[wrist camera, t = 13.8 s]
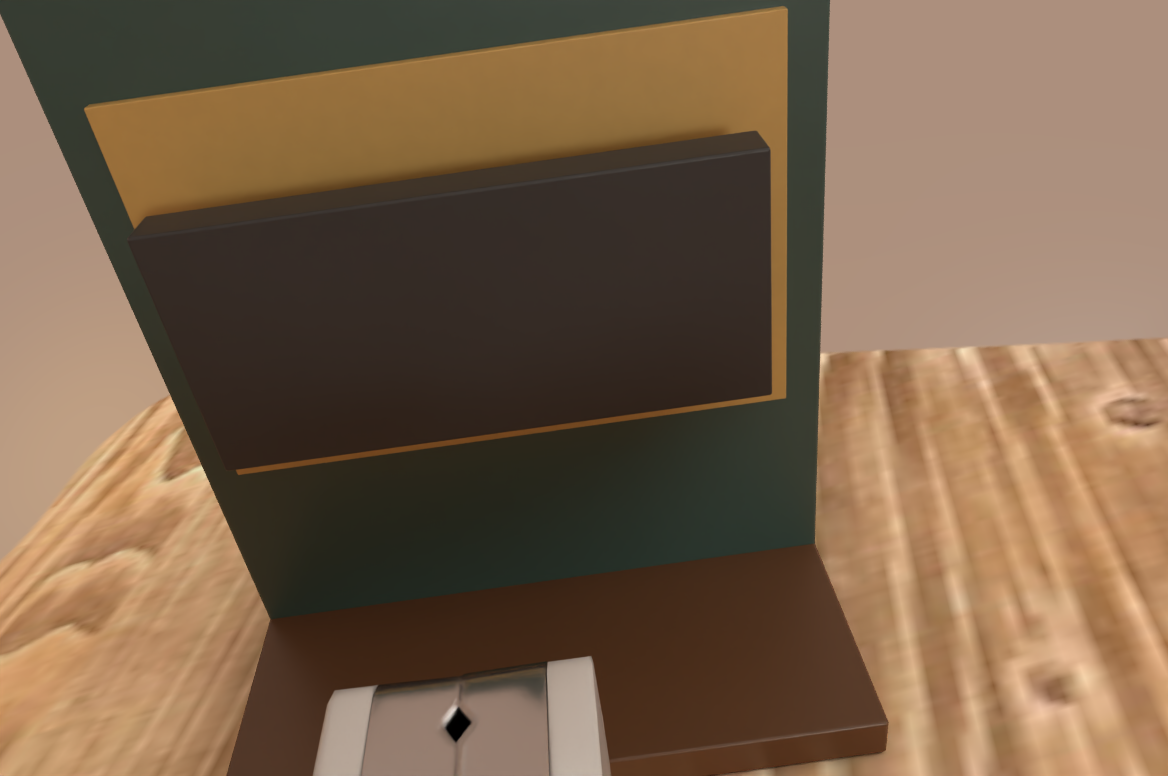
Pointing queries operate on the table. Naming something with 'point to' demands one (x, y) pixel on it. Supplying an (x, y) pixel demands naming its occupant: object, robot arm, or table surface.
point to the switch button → (471, 300)
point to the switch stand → (517, 458)
